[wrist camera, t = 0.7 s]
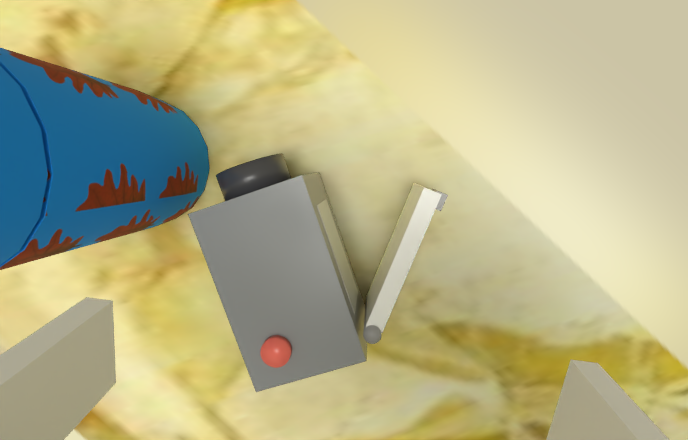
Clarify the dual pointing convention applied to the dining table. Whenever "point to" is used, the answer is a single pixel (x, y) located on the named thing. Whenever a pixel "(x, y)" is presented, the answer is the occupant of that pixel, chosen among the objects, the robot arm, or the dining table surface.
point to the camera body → (282, 273)
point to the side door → (399, 258)
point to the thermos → (87, 160)
